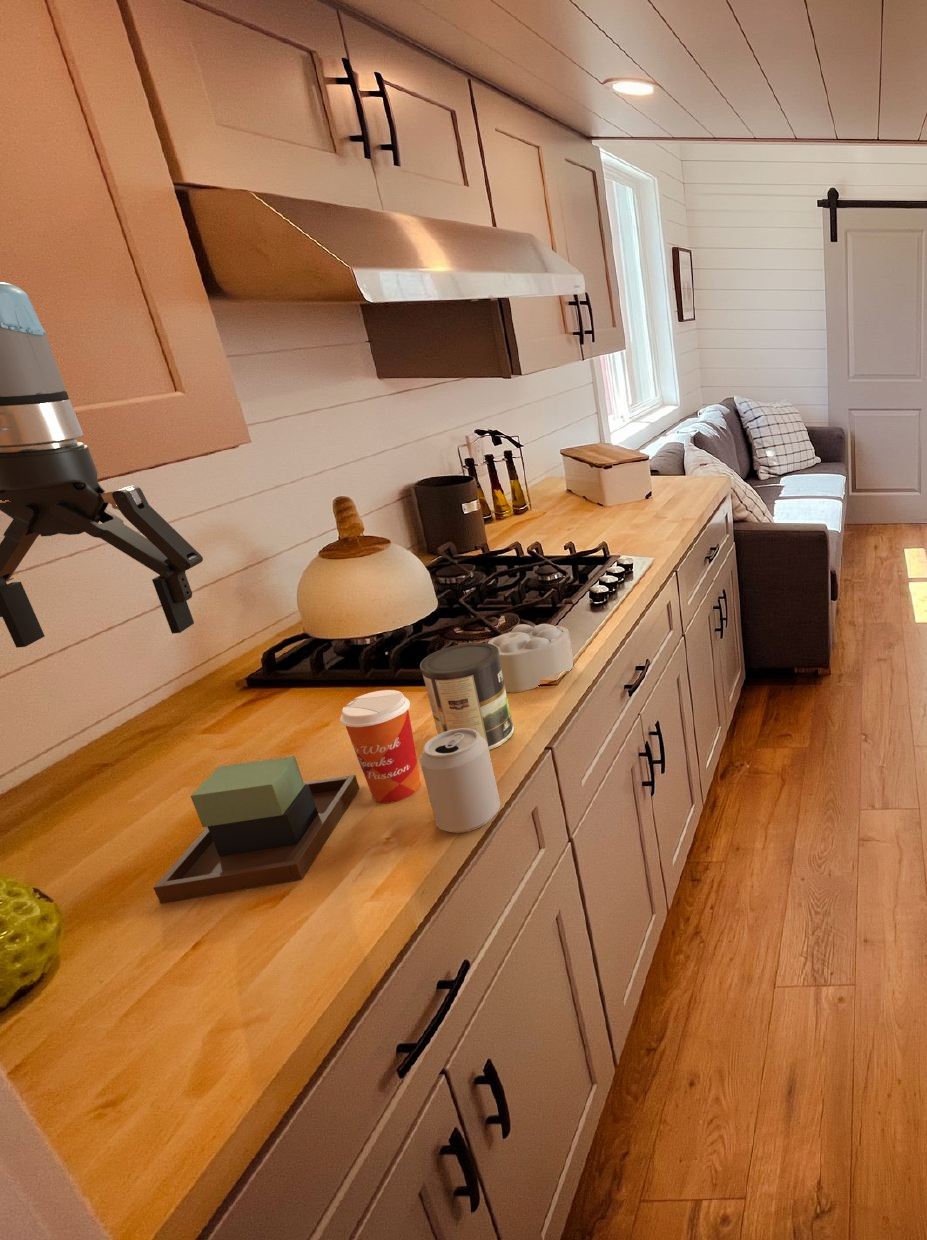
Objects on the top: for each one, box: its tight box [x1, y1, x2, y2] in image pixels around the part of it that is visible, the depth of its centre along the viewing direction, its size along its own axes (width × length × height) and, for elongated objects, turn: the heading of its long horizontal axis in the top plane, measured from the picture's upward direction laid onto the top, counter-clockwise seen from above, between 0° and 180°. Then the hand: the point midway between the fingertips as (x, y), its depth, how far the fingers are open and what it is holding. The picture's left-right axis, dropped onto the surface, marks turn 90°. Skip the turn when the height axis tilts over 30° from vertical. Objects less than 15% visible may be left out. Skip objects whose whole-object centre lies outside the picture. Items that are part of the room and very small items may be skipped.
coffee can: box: [419, 642, 515, 751], centre depth 110 cm, size 10×10×14 cm
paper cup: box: [339, 689, 421, 804], centre depth 98 cm, size 8×8×14 cm
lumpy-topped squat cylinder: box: [487, 623, 574, 694], centre depth 130 cm, size 10×13×9 cm
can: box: [419, 728, 501, 834], centre depth 93 cm, size 8×8×12 cm
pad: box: [190, 755, 305, 828], centre depth 88 cm, size 8×6×4 cm
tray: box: [153, 774, 360, 904], centre depth 90 cm, size 14×18×2 cm
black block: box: [208, 785, 318, 857], centre depth 90 cm, size 8×6×4 cm
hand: (109, 635), depth 80 cm, fingers open, 13 cm apart
